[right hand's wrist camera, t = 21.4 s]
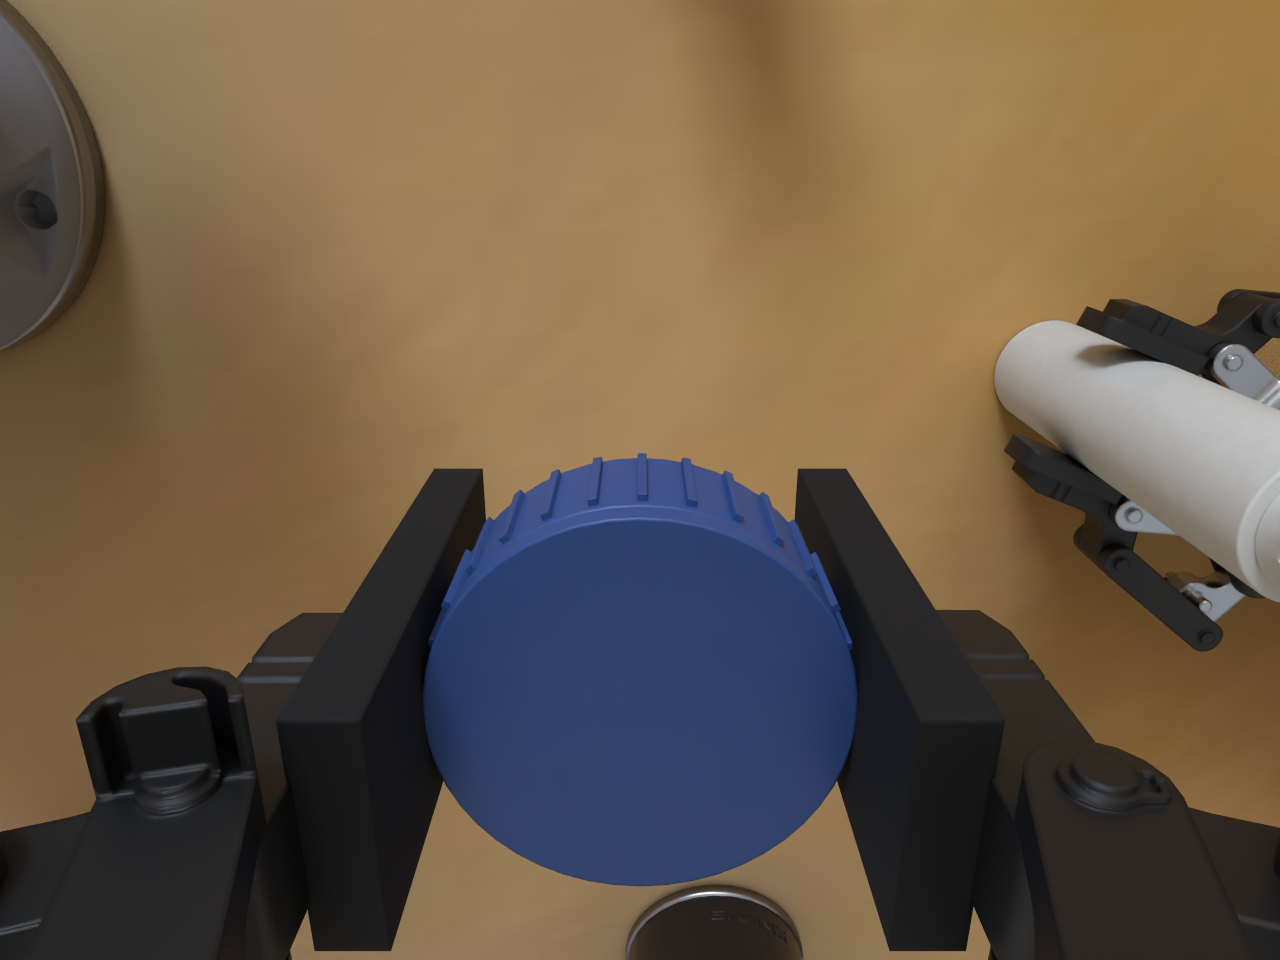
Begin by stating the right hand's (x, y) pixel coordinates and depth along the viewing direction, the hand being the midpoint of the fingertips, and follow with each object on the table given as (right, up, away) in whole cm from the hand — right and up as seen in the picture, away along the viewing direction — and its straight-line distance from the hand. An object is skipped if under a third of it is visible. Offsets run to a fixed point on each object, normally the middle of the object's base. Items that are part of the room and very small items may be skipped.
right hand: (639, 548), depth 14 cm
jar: (+17, +6, +23) cm, 29 cm away
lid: (0, -1, -4) cm, 4 cm away
